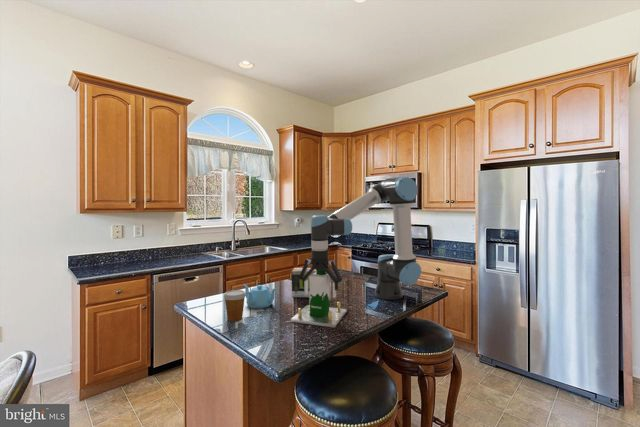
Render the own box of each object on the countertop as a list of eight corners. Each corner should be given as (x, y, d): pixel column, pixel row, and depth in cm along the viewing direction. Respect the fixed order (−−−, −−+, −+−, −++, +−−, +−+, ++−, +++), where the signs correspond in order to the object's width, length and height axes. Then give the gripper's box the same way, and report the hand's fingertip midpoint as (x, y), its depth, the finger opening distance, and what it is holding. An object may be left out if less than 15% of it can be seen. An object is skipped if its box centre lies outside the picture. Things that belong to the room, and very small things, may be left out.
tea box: (320, 292, 182) (320, 267, 182) (318, 298, 172) (318, 271, 172) (294, 292, 184) (294, 266, 183) (291, 297, 174) (291, 270, 173)
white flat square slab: (346, 311, 151) (346, 300, 151) (334, 327, 132) (334, 315, 132) (307, 307, 157) (307, 296, 157) (290, 321, 138) (290, 310, 138)
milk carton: (331, 311, 147) (331, 269, 146) (325, 318, 139) (325, 273, 138) (314, 309, 150) (314, 267, 150) (306, 315, 142) (306, 271, 141)
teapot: (271, 299, 170) (270, 280, 169) (277, 308, 156) (277, 287, 155) (243, 303, 164) (243, 283, 164) (247, 312, 150) (247, 290, 150)
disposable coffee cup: (227, 315, 147) (227, 289, 146) (248, 315, 146) (248, 289, 146) (220, 323, 137) (220, 295, 137) (242, 323, 137) (242, 295, 136)
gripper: (348, 249, 143) (348, 295, 144) (297, 247, 151) (298, 291, 152) (344, 251, 136) (344, 300, 137) (291, 249, 144) (291, 295, 145)
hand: (320, 295), depth 144 cm, fingers open, 13 cm apart
